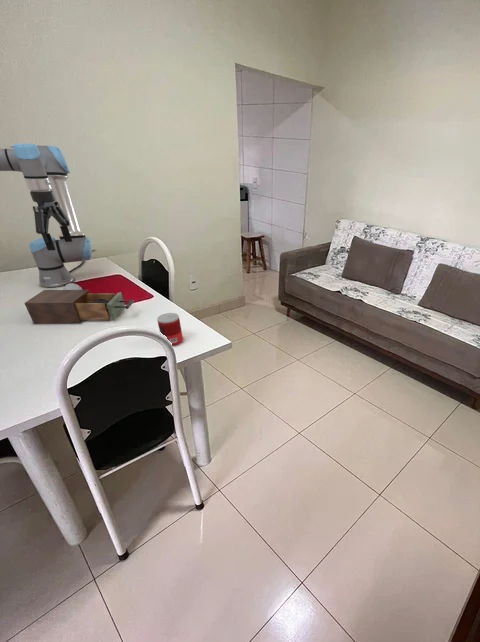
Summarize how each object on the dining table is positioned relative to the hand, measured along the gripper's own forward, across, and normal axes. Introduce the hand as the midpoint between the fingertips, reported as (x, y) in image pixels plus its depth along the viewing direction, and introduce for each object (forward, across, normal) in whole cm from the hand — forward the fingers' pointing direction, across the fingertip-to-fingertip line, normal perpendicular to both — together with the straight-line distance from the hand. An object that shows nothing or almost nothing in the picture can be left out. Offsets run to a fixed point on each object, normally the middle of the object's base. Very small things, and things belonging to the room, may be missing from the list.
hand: (60, 245), depth 138 cm
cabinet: (+29, -10, +3) cm, 30 cm away
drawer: (+28, -10, -15) cm, 33 cm away
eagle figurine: (+27, -10, -13) cm, 31 cm away
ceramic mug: (+29, +8, +6) cm, 31 cm away
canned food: (+29, -33, -49) cm, 66 cm away
